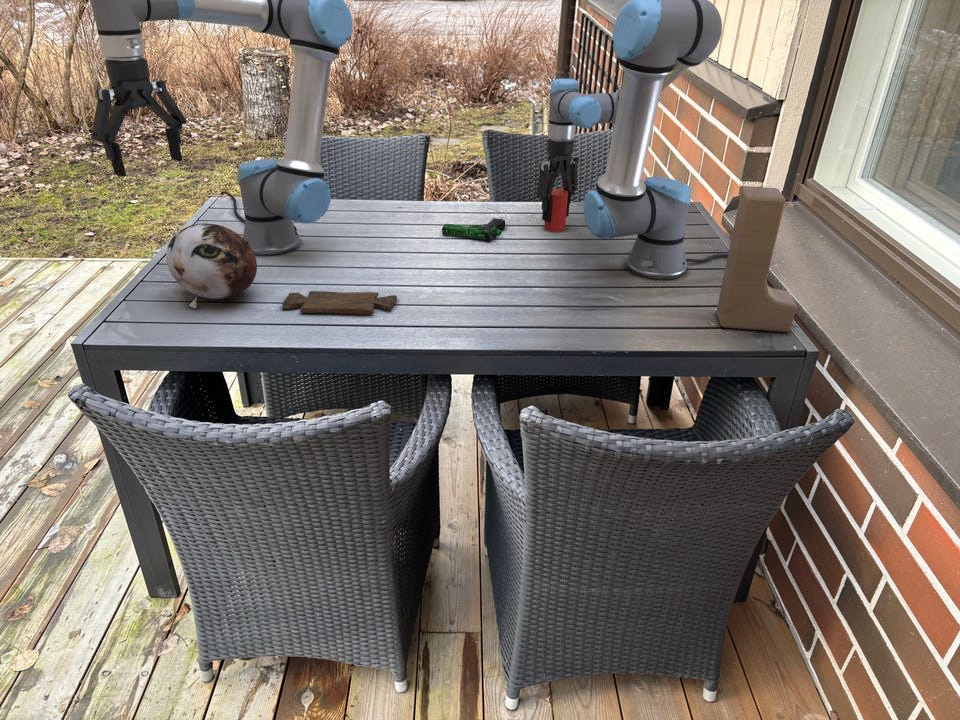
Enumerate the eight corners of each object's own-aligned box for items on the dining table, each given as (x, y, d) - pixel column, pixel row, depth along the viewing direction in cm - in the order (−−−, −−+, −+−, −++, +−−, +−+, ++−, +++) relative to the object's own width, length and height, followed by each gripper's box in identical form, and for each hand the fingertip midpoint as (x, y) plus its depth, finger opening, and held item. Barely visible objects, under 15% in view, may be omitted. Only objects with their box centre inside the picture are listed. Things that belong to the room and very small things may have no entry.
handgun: (511, 219, 210) (493, 234, 198) (511, 228, 211) (492, 244, 199) (461, 212, 215) (440, 226, 203) (461, 221, 217) (440, 236, 204)
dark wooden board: (392, 317, 161) (397, 298, 170) (391, 310, 160) (397, 291, 169) (278, 313, 161) (289, 294, 170) (277, 306, 161) (289, 287, 169)
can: (561, 233, 208) (564, 196, 203) (541, 230, 210) (543, 193, 205) (567, 226, 213) (570, 190, 208) (547, 223, 215) (550, 187, 210)
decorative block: (790, 333, 157) (826, 200, 141) (720, 328, 158) (748, 196, 143) (782, 318, 163) (816, 189, 148) (715, 313, 165) (741, 185, 149)
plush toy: (130, 285, 161) (164, 203, 163) (192, 308, 177) (221, 233, 178) (195, 307, 151) (229, 220, 152) (254, 330, 166) (285, 250, 168)
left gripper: (76, 67, 127) (106, 185, 138) (191, 52, 145) (210, 156, 156) (51, 63, 130) (82, 178, 141) (167, 49, 149) (187, 151, 160)
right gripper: (576, 131, 206) (569, 208, 218) (525, 141, 195) (522, 221, 207) (595, 136, 201) (587, 214, 213) (544, 146, 191) (539, 228, 202)
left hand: (149, 167), depth 149 cm, fingers open, 13 cm apart
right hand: (555, 217), depth 210 cm, fingers open, 7 cm apart
